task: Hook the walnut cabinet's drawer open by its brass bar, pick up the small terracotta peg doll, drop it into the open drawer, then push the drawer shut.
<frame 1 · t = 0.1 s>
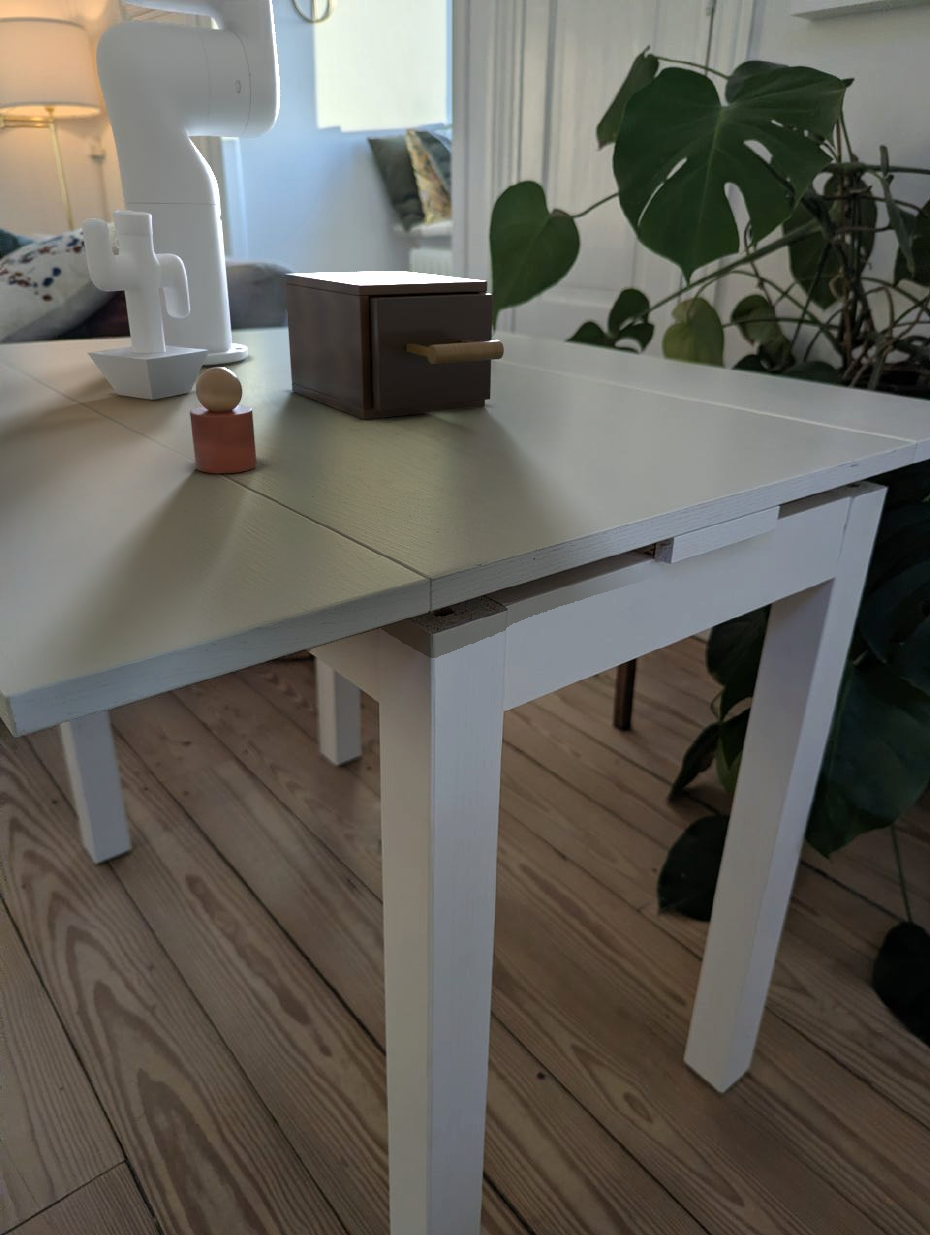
peg doll: (226, 466, 58), on the table
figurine: (154, 395, 81), on the table
cabinet: (385, 398, 81), on the table
drawer: (410, 345, 75), point 5 cm above the table, slide at 0.5 cm
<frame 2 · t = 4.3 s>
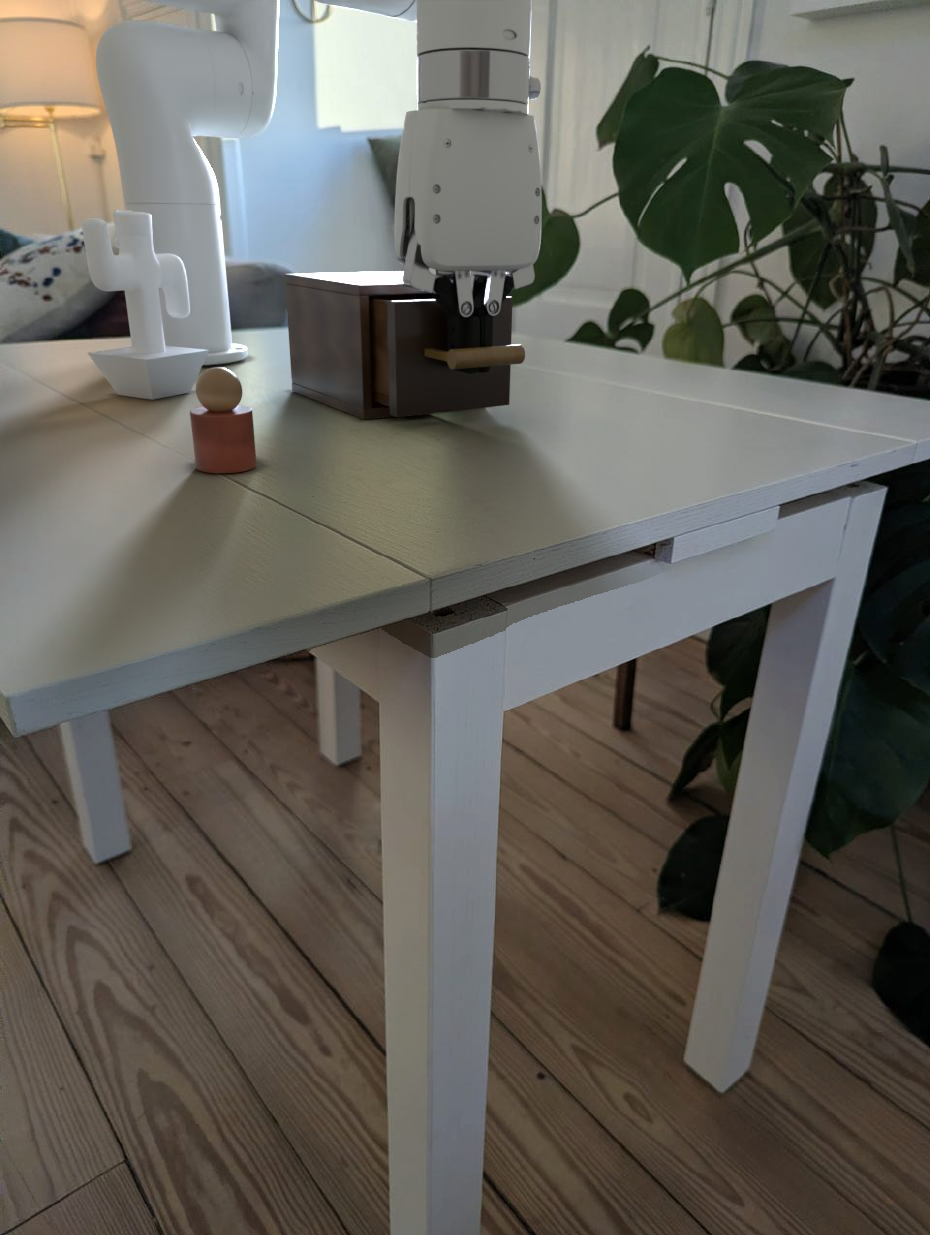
hand: (469, 370, 68), 4 cm above the table, tool pointing down, fingers closed
drawer: (427, 349, 73), point 5 cm above the table, slide at 3.3 cm, touching gripper
everything else where it was.
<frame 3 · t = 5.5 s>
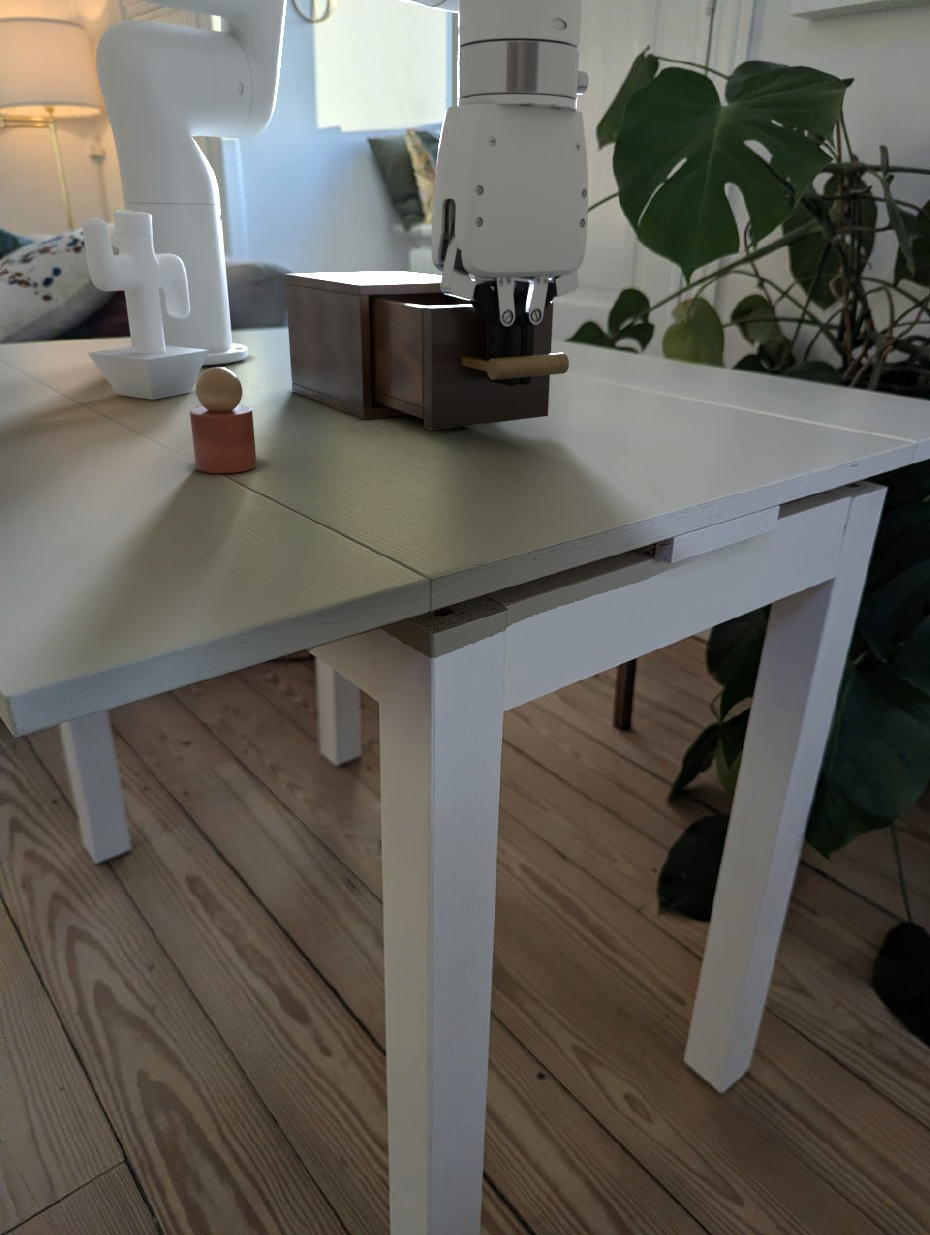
hand: (508, 381, 64), 4 cm above the table, tool pointing down, fingers closed
drawer: (461, 358, 69), point 5 cm above the table, slide at 8.4 cm, touching gripper
everything else where it was.
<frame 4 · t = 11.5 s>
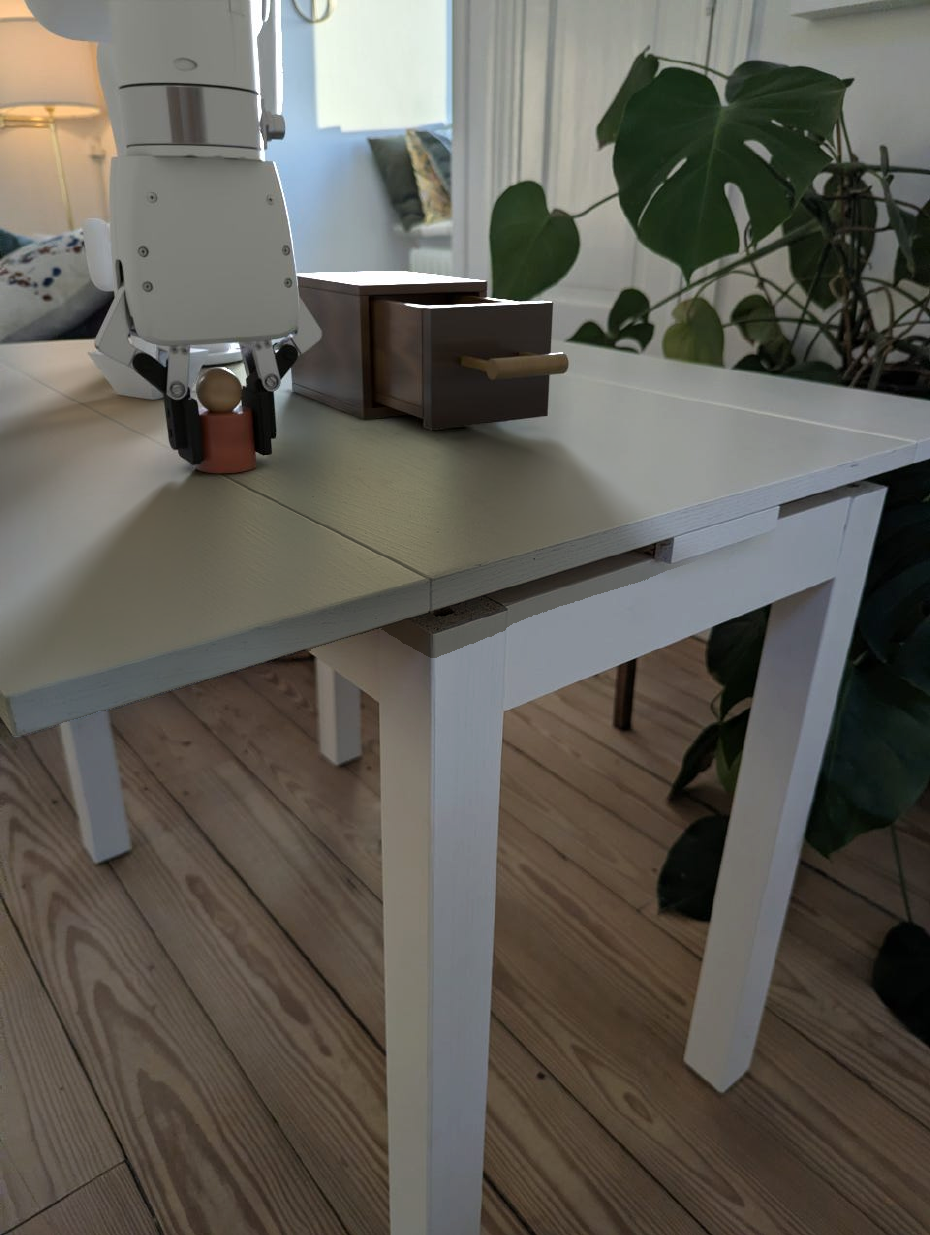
hand: (225, 452, 58), 1 cm above the table, tool pointing down, fingers closed on peg doll, 3 cm apart
peg doll: (226, 466, 58), on the table, touching gripper
drawer: (461, 358, 69), point 5 cm above the table, slide at 8.4 cm
everything else where it was.
when the fingers open (9 cm above the table, at t = 17.0 s): peg doll drops 6 cm, resting on drawer.
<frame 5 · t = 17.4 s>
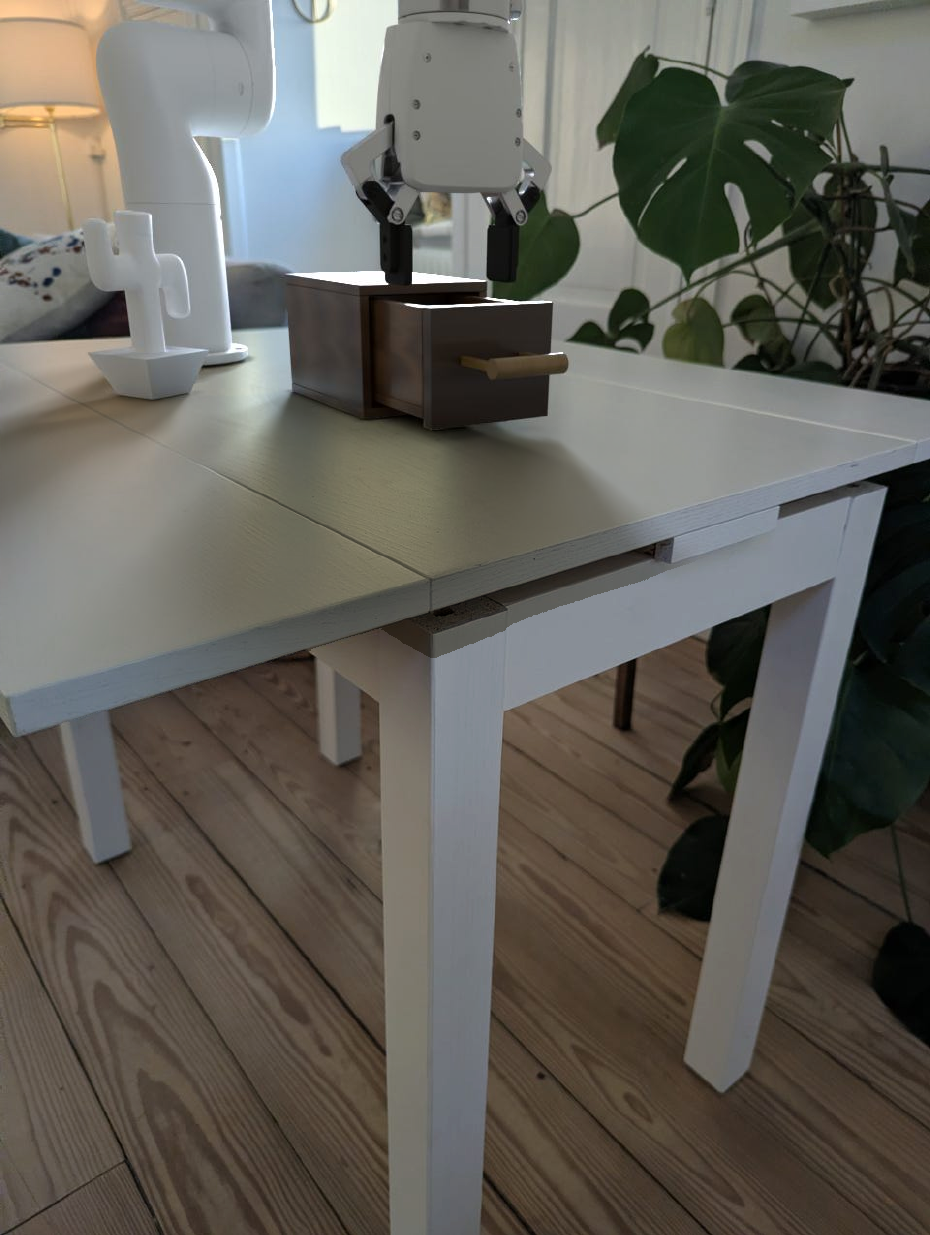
hand: (451, 282, 68), 10 cm above the table, tool pointing down, fingers open, 8 cm apart
peg doll: (451, 395, 71), point 2 cm above the table, touching drawer
drawer: (461, 358, 69), point 5 cm above the table, slide at 8.4 cm, touching peg doll
everything else where it was.
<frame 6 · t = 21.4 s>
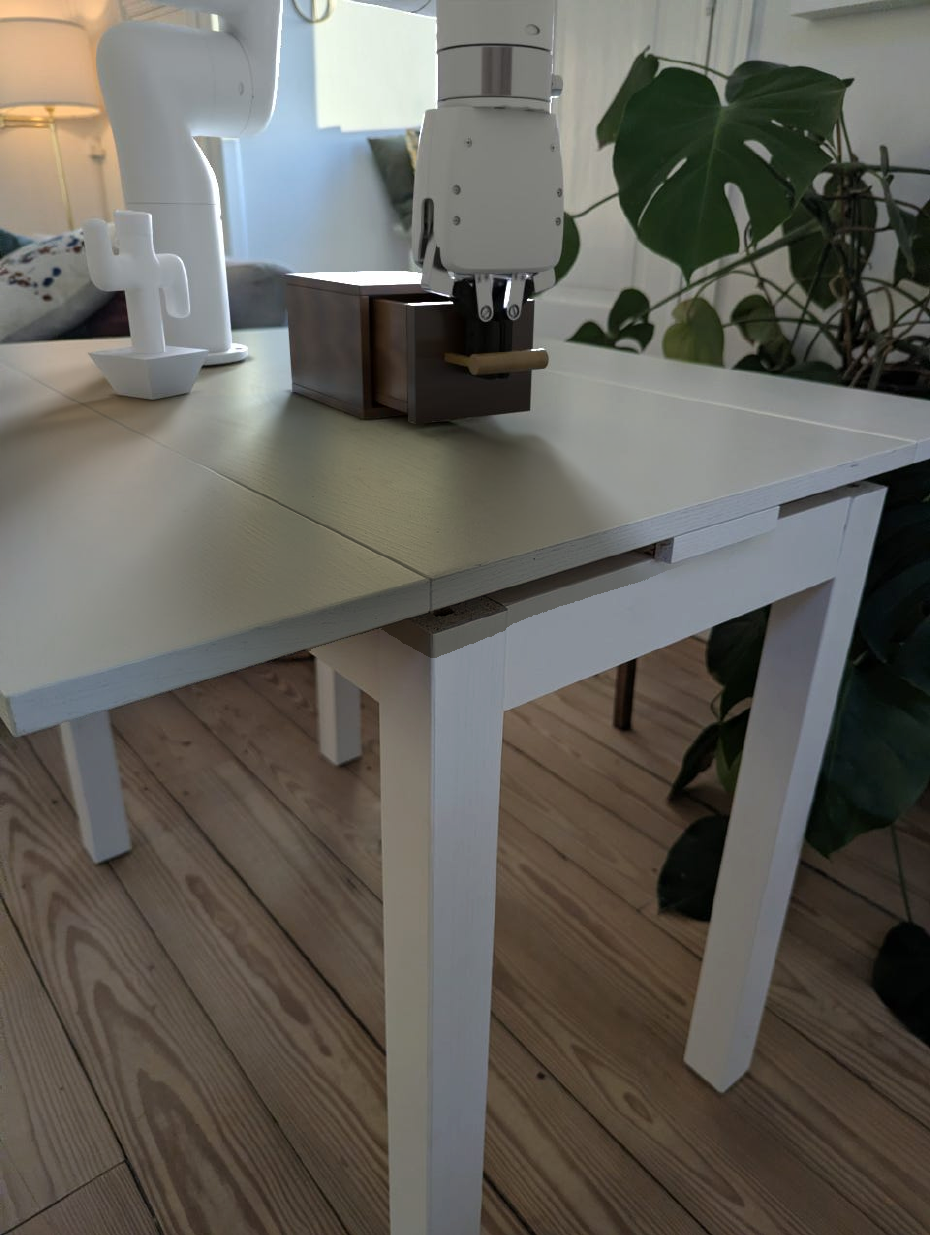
hand: (488, 376, 66), 4 cm above the table, tool pointing down, fingers closed
peg doll: (436, 391, 73), point 2 cm above the table, touching drawer
drawer: (446, 354, 71), point 5 cm above the table, slide at 6.1 cm, touching peg doll
everything else where it was.
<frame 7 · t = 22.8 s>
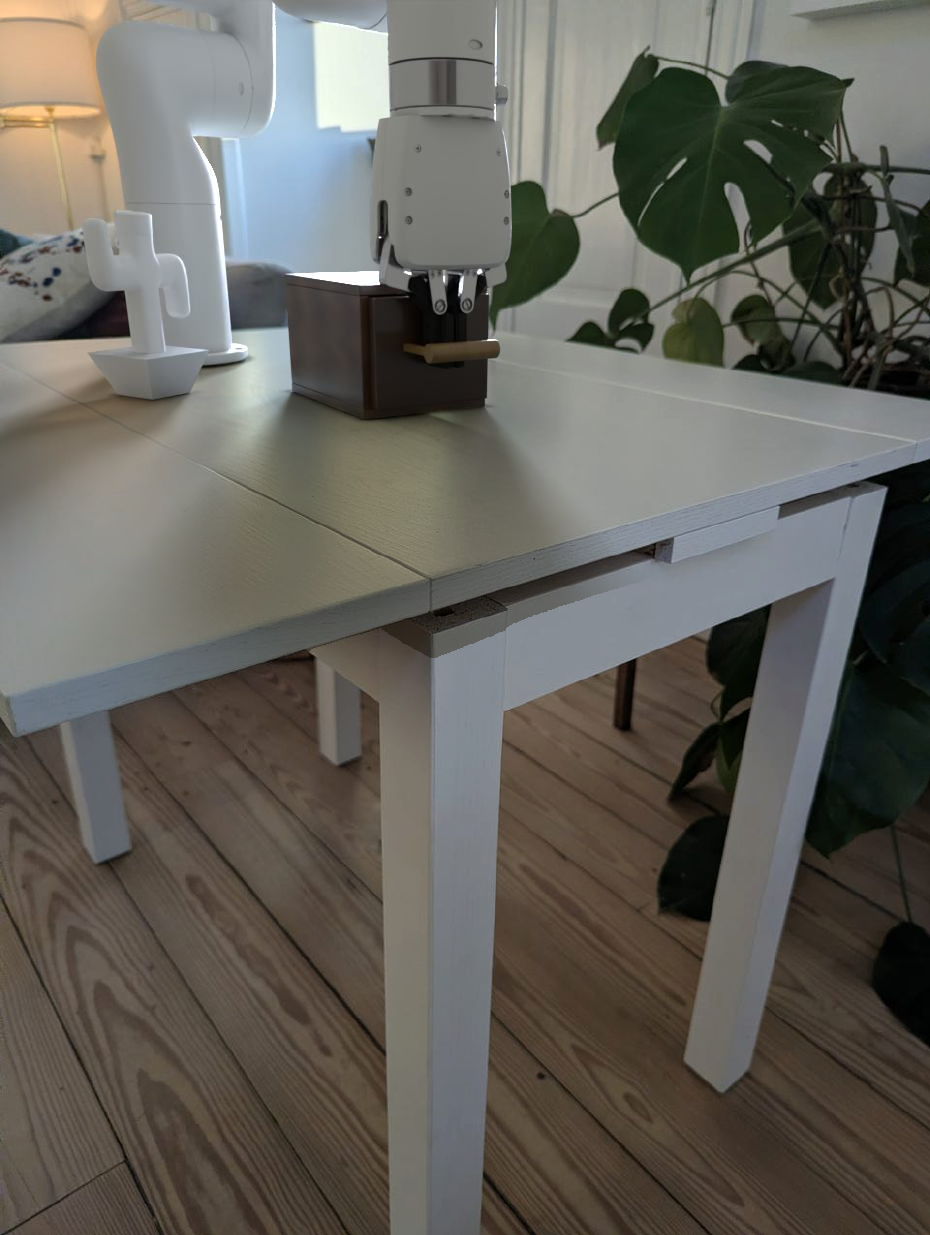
hand: (445, 365, 71), 4 cm above the table, tool pointing down, fingers closed
peg doll: (399, 380, 78), point 2 cm above the table, touching drawer
drawer: (407, 345, 75), point 5 cm above the table, slide at 0.0 cm, touching cabinet, gripper, peg doll
everything else where it was.
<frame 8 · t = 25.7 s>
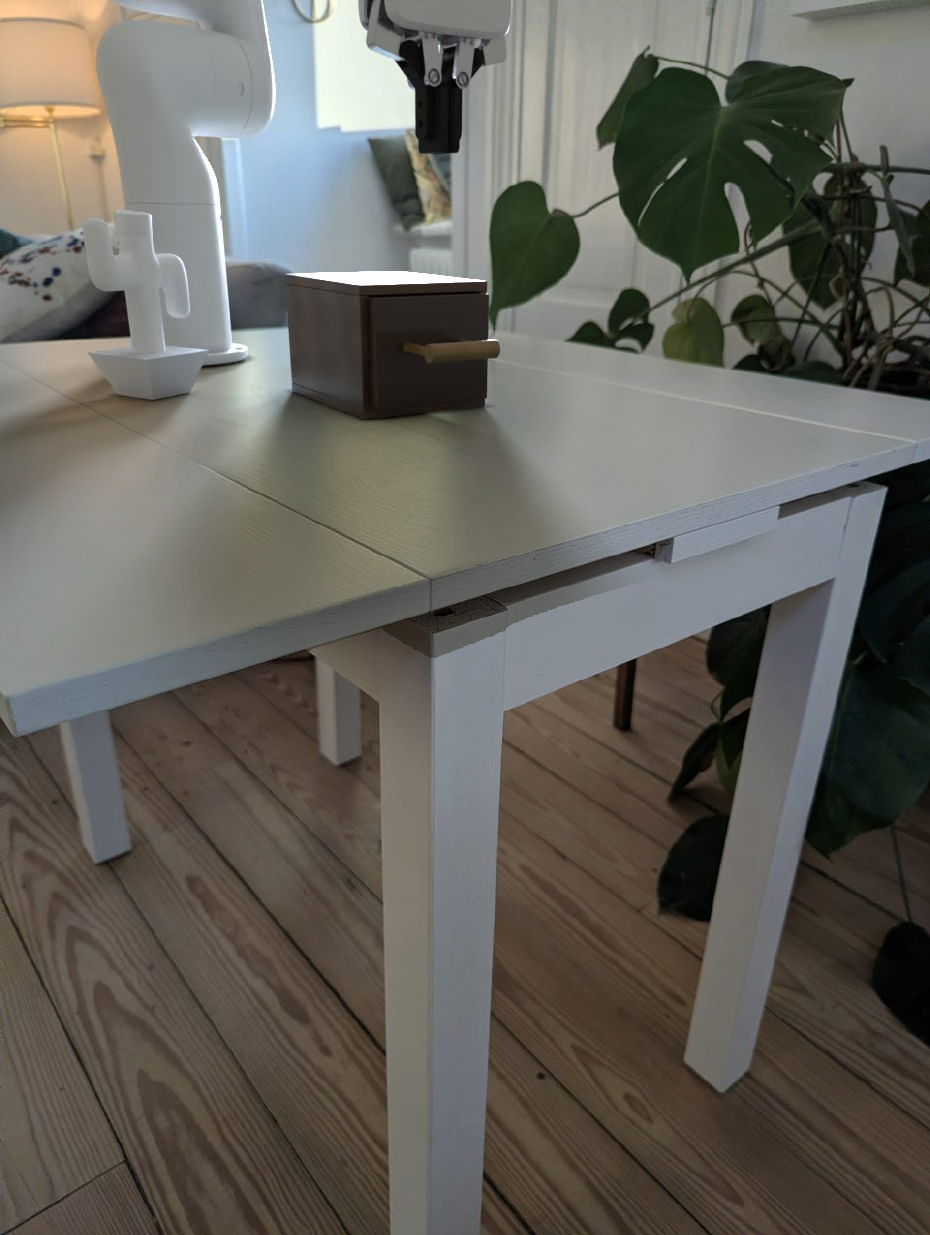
hand: (438, 152, 66), 19 cm above the table, tool pointing down, fingers closed
drawer: (407, 345, 75), point 5 cm above the table, slide at 0.0 cm, touching peg doll
everything else where it was.
at the end: drawer pulled out 8.4 cm at the most during the clip, back to where it started at the end; peg doll inside the target area in the cabinet (2.8 cm from its centre), point 2.0 cm above the cabinet's base; drawer slide at 0.0 cm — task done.
